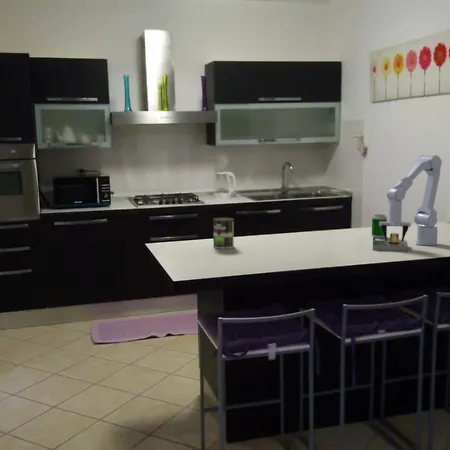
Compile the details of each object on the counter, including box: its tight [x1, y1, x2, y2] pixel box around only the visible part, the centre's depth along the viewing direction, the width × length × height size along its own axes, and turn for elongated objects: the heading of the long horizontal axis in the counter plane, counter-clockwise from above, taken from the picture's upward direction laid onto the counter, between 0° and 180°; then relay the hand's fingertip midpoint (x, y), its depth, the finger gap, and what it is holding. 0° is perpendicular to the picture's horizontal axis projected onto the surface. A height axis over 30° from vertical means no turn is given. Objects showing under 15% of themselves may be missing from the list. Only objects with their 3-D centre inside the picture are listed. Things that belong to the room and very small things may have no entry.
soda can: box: [371, 214, 388, 240], centre depth 298 cm, size 8×8×12 cm
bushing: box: [389, 232, 400, 244], centre depth 272 cm, size 4×4×7 cm
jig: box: [372, 236, 409, 252], centre depth 272 cm, size 16×12×4 cm
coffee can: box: [212, 217, 235, 250], centre depth 280 cm, size 10×10×14 cm
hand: (394, 241), depth 272 cm, fingers open, 7 cm apart
